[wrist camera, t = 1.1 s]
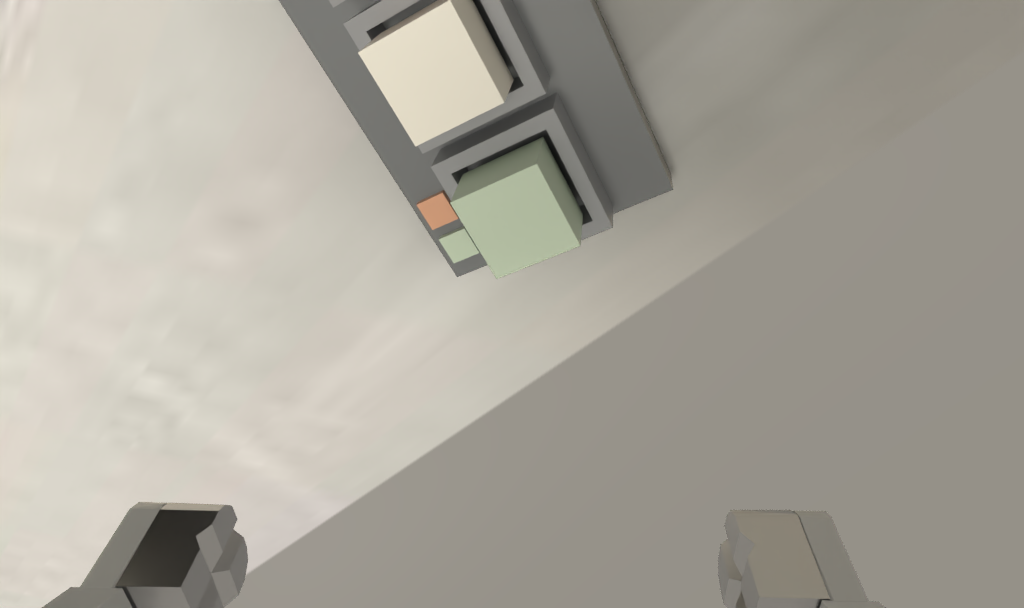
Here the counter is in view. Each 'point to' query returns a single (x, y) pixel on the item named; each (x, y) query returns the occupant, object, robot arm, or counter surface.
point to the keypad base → (502, 110)
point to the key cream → (438, 68)
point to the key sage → (519, 209)
